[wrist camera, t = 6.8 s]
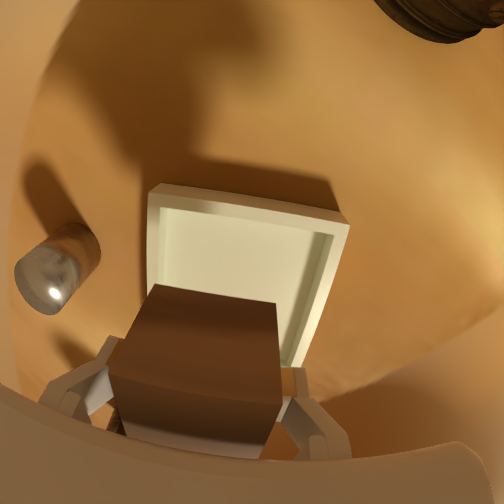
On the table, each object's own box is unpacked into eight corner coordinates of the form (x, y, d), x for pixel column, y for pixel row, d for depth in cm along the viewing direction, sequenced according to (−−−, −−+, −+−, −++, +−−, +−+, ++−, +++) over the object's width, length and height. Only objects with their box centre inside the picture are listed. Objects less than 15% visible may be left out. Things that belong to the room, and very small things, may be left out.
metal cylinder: (55, 219, 20) (8, 252, 14) (99, 226, 20) (55, 264, 15) (61, 267, 22) (22, 306, 16) (103, 276, 22) (68, 321, 17)
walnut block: (154, 283, 12) (107, 373, 7) (276, 303, 12) (282, 404, 7) (157, 365, 14) (130, 447, 9) (255, 381, 14) (253, 468, 10)
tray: (160, 182, 19) (148, 192, 16) (340, 212, 19) (350, 225, 17) (158, 341, 25) (151, 360, 23) (292, 361, 25) (294, 381, 23)
